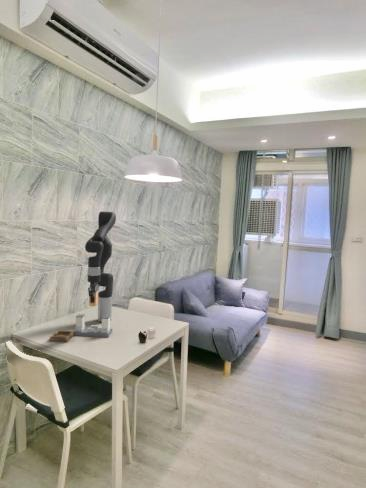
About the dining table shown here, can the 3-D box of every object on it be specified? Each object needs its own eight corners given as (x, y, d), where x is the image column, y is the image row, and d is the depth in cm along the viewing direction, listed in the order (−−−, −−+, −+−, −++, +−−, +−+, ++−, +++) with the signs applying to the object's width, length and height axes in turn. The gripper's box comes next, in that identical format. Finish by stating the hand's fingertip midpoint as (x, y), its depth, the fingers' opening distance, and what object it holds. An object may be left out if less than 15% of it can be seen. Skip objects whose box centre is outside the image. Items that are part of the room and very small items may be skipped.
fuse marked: (91, 303, 199) (91, 289, 198) (97, 304, 199) (97, 290, 198) (89, 305, 195) (89, 291, 194) (95, 306, 195) (95, 291, 194)
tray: (57, 334, 194) (57, 330, 194) (73, 335, 194) (73, 331, 194) (50, 340, 184) (50, 336, 184) (67, 342, 184) (67, 337, 184)
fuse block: (78, 329, 203) (78, 312, 202) (112, 331, 203) (112, 314, 202) (72, 335, 195) (72, 317, 194) (108, 337, 194) (108, 319, 193)
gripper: (91, 271, 202) (91, 298, 204) (83, 275, 188) (83, 304, 190) (103, 272, 202) (103, 298, 204) (96, 276, 188) (95, 305, 190)
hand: (93, 301), depth 197 cm, fingers closed on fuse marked, 4 cm apart
